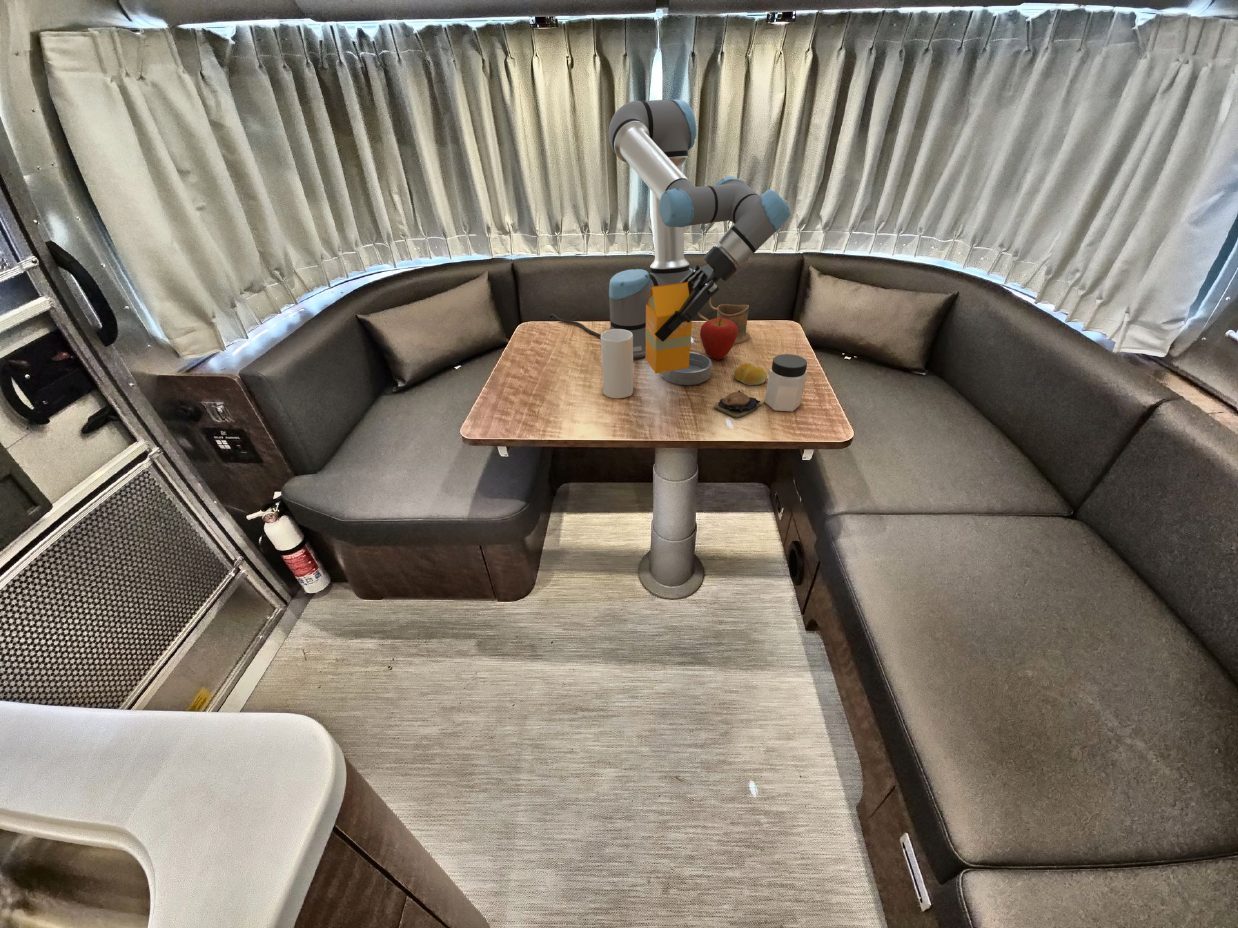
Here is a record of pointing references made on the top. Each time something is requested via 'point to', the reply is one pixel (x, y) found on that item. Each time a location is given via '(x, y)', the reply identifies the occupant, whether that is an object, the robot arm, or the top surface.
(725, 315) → the mug
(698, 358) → the pan
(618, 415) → the top surface
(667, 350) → the orange juice
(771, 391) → the jar
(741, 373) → the bread roll
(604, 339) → the cup
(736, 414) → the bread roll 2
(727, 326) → the apple
